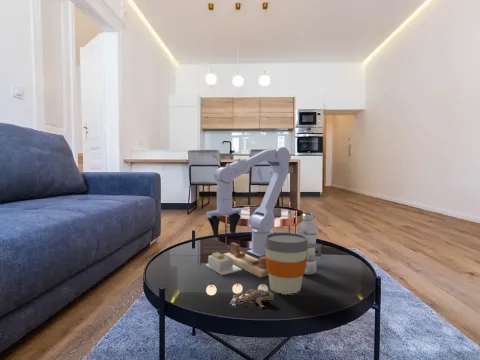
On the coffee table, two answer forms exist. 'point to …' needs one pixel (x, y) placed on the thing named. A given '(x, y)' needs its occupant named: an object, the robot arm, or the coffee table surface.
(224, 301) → the coffee table surface
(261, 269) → the hand plane
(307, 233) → the plastic bottle
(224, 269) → the brass-inlaid steel block
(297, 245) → the reusable coffee cup
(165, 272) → the coffee table surface
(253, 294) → the frog figurine
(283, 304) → the coffee table surface
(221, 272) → the felt pad
